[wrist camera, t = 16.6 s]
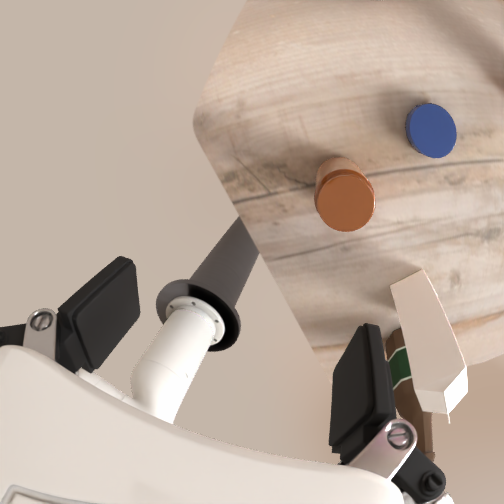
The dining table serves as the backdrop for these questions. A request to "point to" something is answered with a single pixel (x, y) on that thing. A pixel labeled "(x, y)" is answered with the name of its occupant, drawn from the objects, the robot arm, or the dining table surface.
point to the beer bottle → (408, 393)
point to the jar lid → (431, 130)
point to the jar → (343, 195)
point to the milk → (429, 345)
